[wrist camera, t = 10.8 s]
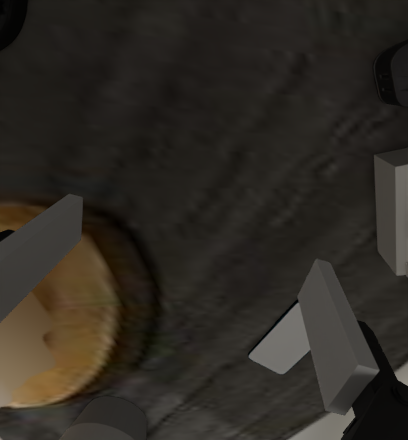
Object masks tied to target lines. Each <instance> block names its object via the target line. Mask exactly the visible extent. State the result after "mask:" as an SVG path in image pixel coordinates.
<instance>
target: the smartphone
mask: <svg viewBox="0 0 408 440" xmlns="http://www.w3.org/2000/svg"><path fill="white" fill-rule="evenodd" d="M310 350H311V349H310V345H309V341H308V337H307V333H306V329H305V325H304V321H303V317H302V313H301V309H300V305H299V301H298V300H296V301H295V302H294V303H293V304H292V305H291V306H290V308H289V309H288V310H287V311H286V312H285V313H284V314H283V315H282V316H281V317H280V319H278V320H277V321H276V322H275V324H274V325H273V326H272V327H271V329H270V330H269V331H268V332H267V333H266V334H265V335H264V336H263V337H262V339H261V340H260V341H259V342H258V343H257V344H256V345H255V346H254V347H253V349H252V350H251V351H250V352H249V353H248V358H249V359H250V360H252V361H254V362H256V363H258V364H260V365H262V366H264V367H266V368H267V369H269V370H271V371H273V372H275V373H277V374H280V375H283V374H285V373H287V372H288V371H289V370H290V369H291V368H292V367H293V366H294V365H295V364H296V363H297V362H298V361H300V360H301V359H302V358H303V357H304V356H305V355H306V354H307V353H308V352H309V351H310Z"/></svg>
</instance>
